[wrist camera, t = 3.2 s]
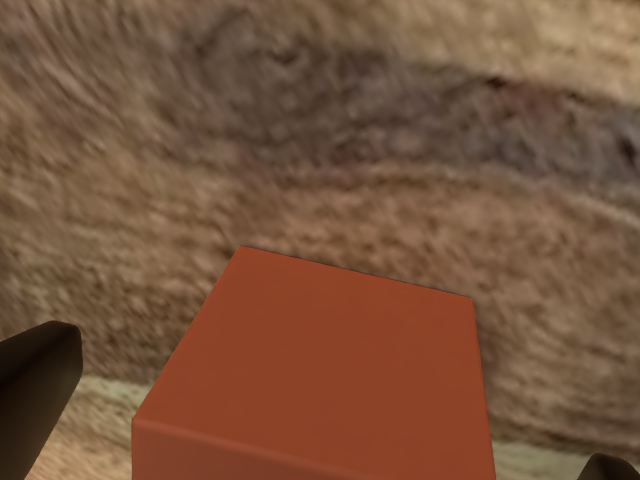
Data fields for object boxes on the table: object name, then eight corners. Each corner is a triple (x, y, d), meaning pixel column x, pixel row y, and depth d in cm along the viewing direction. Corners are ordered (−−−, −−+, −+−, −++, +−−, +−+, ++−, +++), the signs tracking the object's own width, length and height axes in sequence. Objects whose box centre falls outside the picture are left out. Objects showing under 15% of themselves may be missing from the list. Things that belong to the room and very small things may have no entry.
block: (221, 411, 10) (130, 619, 7) (238, 242, 8) (127, 420, 5) (415, 459, 10) (410, 697, 7) (475, 296, 8) (504, 516, 5)
